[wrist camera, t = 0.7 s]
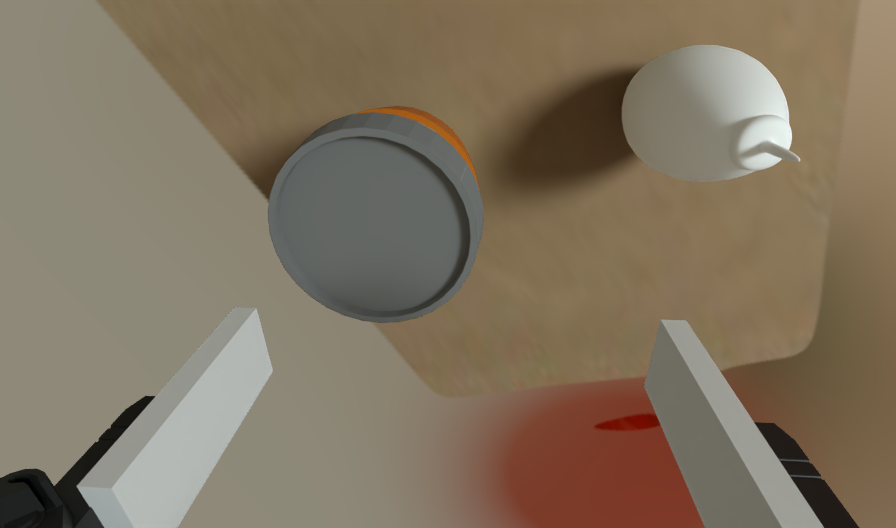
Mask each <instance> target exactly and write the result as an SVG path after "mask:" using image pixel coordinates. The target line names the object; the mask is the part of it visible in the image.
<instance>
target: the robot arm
mask: <svg viewBox="0 0 896 528" xmlns="http://www.w3.org/2000/svg"><path fill="white" fill-rule="evenodd" d="M272 372H273V370H272V366H271V362H270V358H269V354H268V351H267V347H266V343H265V339H264V335H263V332H262V328H261V324H260V320H259V316H258V313H257V309H256V308H244V307H243V308H242V307H234V308H233V310H231V312H230V313H229V314H228V315H227V316H226V317H225V318H224V319H223V321H222V322H221V323H220V324H219V325H218V326H217V327H216V329H215V330H214V331H213V332H212V333H211V334H210V335H209V337H208V338H207V339H206V340H205V341H204V342H203V343H202V344H201V346H200V347H199V348H198V349H197V350H196V351H195V352H194V354H193V355H192V356H191V357H190V358H189V359H188V360H187V361H186V363H185V364H184V365H183V366H182V367H181V368H180V369H179V371H178V372H177V373H176V374H175V375H174V376H173V377H172V379H171V380H170V381H169V382H168V383H167V384H166V385H165V387H164V388H163V389H162V390H161V391H160V392H159V393H158V394H157V396H145V397H143V398H142V399H141V400H139V401H137V402H136V403H135V404H133V405H131V406H130V407H129V408H127V409H126V410H125V411H124V412H123V413H122V414H121V415H120V416H119V417H118V418H117V419H116V420H115V422H114V423H113V424H112V425H111V428H110V429H107V430H106V431H105V433H103V435H101V437H100V438H99V441H98V442H95V443H94V444H93V445H92V446H91V447H90V448H89V449H88V451H87V452H86V453H85V454H84V455H83V456H82V457H81V458H80V459H79V460H78V461H77V462H76V464H75V465H74V466H73V467H72V468H71V469H70V470H69V471H68V472H67V473H66V474H65V475H64V476H63V478H62V479H61V480H60V481H59V482H58V483H57V484H56V485H55V486H53V484H52V483H51V481H50V480H49V478H48V477H47V475H46V474H45V472H43V471H41V470H38V469H24V470H20V471H17V472H14V473H10V474H8V475H6V476H4V477H2V478H0V528H177V527H178V526H179V524H180V522H181V521H182V519H183V517H184V515H185V514H186V512H187V510H188V509H189V508H190V506H191V504H192V502H193V501H194V499H195V498H196V496H197V494H198V493H199V491H200V490H201V488H202V486H203V485H204V483H205V481H206V480H207V478H208V476H209V475H210V473H211V471H212V470H213V468H214V467H215V465H216V463H217V462H218V460H219V458H220V457H221V455H222V453H223V452H224V450H225V449H226V447H227V445H228V444H229V442H230V440H231V439H232V437H233V435H234V434H235V432H236V431H237V429H238V427H239V426H240V424H241V422H242V421H243V419H244V417H245V416H246V414H247V413H248V411H249V409H250V408H251V406H252V404H253V403H254V401H255V399H256V398H257V396H258V395H259V393H260V391H261V390H262V388H263V386H264V385H265V383H266V381H267V379H268V378H269V377H270V375H271V373H272ZM644 387H645V389H646V392H647V394H648V396H649V399H650V401H651V403H652V405H653V408H654V410H655V413H656V415H657V417H658V420H659V422H660V424H661V427H662V429H663V431H664V433H665V436H666V438H667V440H668V443H669V445H670V447H671V450H672V452H673V454H674V456H675V459H676V461H677V464H678V466H679V468H680V470H681V473H682V475H683V477H684V480H685V482H686V484H687V487H688V489H689V491H690V493H691V496H692V498H693V500H694V503H695V505H696V507H697V510H698V512H699V515H700V517H701V519H702V521H703V524H704V526H705V528H859V527H858V525H857V524H856V523H855V521H854V520H853V519H852V517H851V516H850V515H849V513H848V512H847V511H846V509H845V508H844V506H843V505H842V504H841V502H840V501H839V500H838V498H837V497H836V495H835V494H834V493H833V491H832V490H831V489H830V487H829V486H828V485H827V483H826V482H825V481H824V480H822V479H821V475H820V474H819V472H818V471H817V470H816V468H815V467H814V466H813V464H810V463H809V459H808V458H807V456H806V455H805V453H804V452H803V451H802V449H801V448H800V447H799V445H798V444H797V443H796V441H795V440H794V439H793V438H791V437H790V436H789V435H788V434H786V433H785V432H784V431H783V430H782V429H780V428H779V427H778V426H777V425H776V424H774V423H758V422H753V421H752V419H751V417H750V416H749V414H748V413H747V411H746V410H745V408H744V407H743V405H742V404H741V402H740V401H739V399H738V398H737V396H736V395H735V393H734V392H733V390H732V389H731V388H730V386H729V384H728V383H727V381H726V380H725V378H724V377H723V376H722V374H721V372H720V371H719V369H718V368H717V366H716V365H715V363H714V362H713V360H712V359H711V357H710V356H709V354H708V353H707V351H706V350H705V348H704V347H703V345H702V344H701V342H700V341H699V339H698V338H697V336H696V335H695V333H694V332H693V330H692V329H691V327H690V326H689V324H688V323H687V321H686V320H661V321H660V325H659V328H658V332H657V336H656V340H655V344H654V348H653V352H652V356H651V360H650V364H649V368H648V372H647V376H646V380H645V384H644Z"/></svg>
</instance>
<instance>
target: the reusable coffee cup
mask: <svg viewBox="0 0 896 528" xmlns="http://www.w3.org/2000/svg"><path fill="white" fill-rule="evenodd" d="M268 221H269V230H270V235H271V239H272V242H273V245H274V248H275V251H276V253H277V255H278V257H279V259H280V261H281V263H282V265H283V266H284V268H285V270H286V271H287V272H288V273H289V275H290V276H291V277H292V279H293V280H294V281H295V282H296V284H297V285H298V286H300V287H301V288H302V289H303V290H304V291H305V292H306V293H307V294H308V295H309V296H311V297H312V298H313V299H315V300H316V301H318V302H319V303H321V304H322V305H324V306H325V307H327V308H329V309H331V310H333V311H336V312H338V313H340V314H342V315H344V316H348V317H351V318H355V319H359V320H362V321H370V322H378V323H388V322H401V321H406V320H411V319H415V318H418V317H421V316H423V315H425V314H428V313H430V312H433V311H434V310H436V309H437V308H439V307H440V306H442V305H443V304H445V303H446V302H448V301H449V300H450V299H451V298H452V297H453V296H454V295H455V294H456V293H457V292H458V291H459V290H460V288H461V287H462V285H463V283H464V282H465V280H466V279H467V277H468V276H469V274H470V271H471V269H472V266H473V263H474V260H475V258H476V254H477V251H478V248H479V244H480V241H481V237H482V229H483V222H484V216H483V202H482V198H481V194H480V191H479V184H478V181H477V177H476V174H475V170H474V167H473V165H472V162H471V159H470V156H469V154H468V152H467V150H466V148H465V146H464V144H463V143H462V141H461V140H460V139H459V137H458V136H457V135H456V134H455V132H454V131H453V130H452V129H451V128H450V127H449V126H447V125H446V124H445V123H444V122H443V121H441V120H440V119H438V118H437V117H435V116H433V115H431V114H429V113H427V112H424V111H421V110H418V109H415V108H410V107H401V106H394V107H384V108H377V109H370V110H365V111H362V112H359V113H356V114H352V115H349V116H345V117H342V118H339V119H336V120H333V121H331V122H329V123H328V124H326V125H324V126H323V127H321V128H319V129H318V130H316V131H315V132H314V133H313V134H312V135H310V136H309V137H308V138H307V139H306V140H305V141H304V142H303V143H302V144H301V145H300V146H299V147H298V149H297V150H296V151H295V152H294V153H293V154H292V155H291V156H290V157H289V159H288V160H287V161H286V162H285V164H284V166H283V167H282V169H281V170H280V172H279V173H278V175H277V177H276V179H275V182H274V185H273V188H272V190H271V193H270V198H269V208H268Z"/></svg>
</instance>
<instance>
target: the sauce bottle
mask: <svg viewBox="0 0 896 528" xmlns="http://www.w3.org/2000/svg"><path fill="white" fill-rule="evenodd" d="M622 124H623V130H624V134H625V136H626V139H627V142H628V144H629V145H630V147H631V148H632V150H633V151H634V153H635V154H636V156H637V157H638V158H639V159H641V160H642V161H643V162H644V163H645V164H646V165H647V166H649V167H650V168H652V169H654V170H656V171H658V172H660V173H662V174H664V175H666V176H669V177H673V178H677V179H682V180H687V181H706V182H710V181H720V180H727V179H733V178H736V177H740V176H744V175H747V174H749V173H752V172H754V171H756V170H762V169H766V168H768V167H771V166H773V165H775V164H776V163H778V162H779V161H780V160H782V159H785V160H788V161H792V162H799V161H800V158H799V157H798V156H797V155H795V154H794V153H792V152H791V151H789V148H790V145H791V140H792V132H791V128H790V126H789V112H788V107H787V102H786V98H785V96H784V93H783V91H782V89H781V87H780V85H779V84H778V82H777V80H776V79H775V77H774V76H773V75H772V74H771V73H770V72H769V71H768V70H767V69H766V67H765V66H764V65H763V64H762V63H760V62H759V61H758V60H756V59H754V58H752V57H750V56H749V55H747V54H745V53H743V52H741V51H738V50H735V49H731V48H727V47H722V46H716V45H696V46H690V47H684V48H679V49H676V50H673V51H670V52H667V53H665V54H663V55H661V56H659V57H657V58H655V59H653V60H651V61H650V62H649V63H647V64H646V65H645V66H643V67H642V68H641V69H640V70H639V71H638V72H637V73H636V74H635V76H634V77H633V78H632V80H631V82H630V83H629V85H628V87H627V89H626V92H625V95H624V98H623V104H622Z"/></svg>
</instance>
